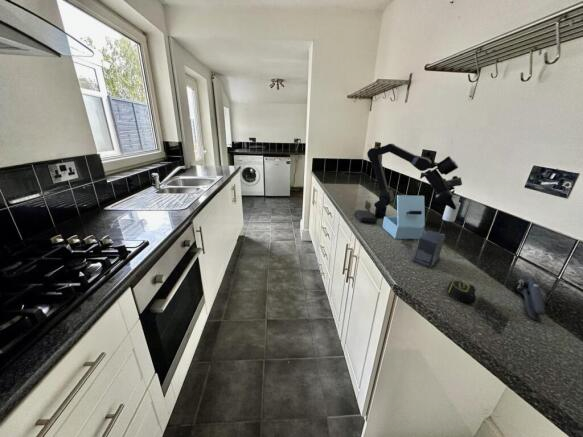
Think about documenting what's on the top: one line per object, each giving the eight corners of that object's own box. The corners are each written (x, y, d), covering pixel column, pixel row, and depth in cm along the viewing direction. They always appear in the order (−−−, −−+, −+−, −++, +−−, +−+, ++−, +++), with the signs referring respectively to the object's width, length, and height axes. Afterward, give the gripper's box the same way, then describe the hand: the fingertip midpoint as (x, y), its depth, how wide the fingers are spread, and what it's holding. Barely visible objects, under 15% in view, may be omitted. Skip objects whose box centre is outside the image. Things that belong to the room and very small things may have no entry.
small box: (421, 252, 95) (428, 229, 91) (439, 258, 91) (446, 234, 87) (412, 261, 88) (418, 236, 84) (430, 268, 84) (438, 243, 80)
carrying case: (379, 224, 122) (371, 214, 135) (380, 219, 121) (372, 209, 134) (359, 223, 122) (353, 213, 135) (360, 218, 121) (354, 209, 134)
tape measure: (472, 308, 66) (477, 297, 64) (445, 297, 70) (448, 287, 68) (473, 295, 71) (477, 285, 70) (447, 286, 75) (450, 276, 73)
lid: (397, 195, 105) (402, 194, 101) (423, 196, 106) (429, 194, 102) (397, 226, 104) (402, 226, 100) (423, 226, 105) (430, 226, 101)
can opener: (512, 285, 77) (519, 270, 75) (542, 294, 73) (550, 280, 70) (515, 315, 64) (524, 298, 62) (551, 328, 60) (561, 311, 58)
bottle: (440, 217, 115) (447, 194, 110) (449, 217, 115) (457, 194, 111) (446, 221, 110) (454, 197, 106) (457, 221, 110) (465, 197, 106)
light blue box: (382, 226, 119) (384, 216, 117) (405, 227, 120) (407, 216, 118) (395, 238, 106) (397, 227, 104) (420, 238, 107) (424, 227, 105)
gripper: (451, 173, 99) (474, 203, 97) (455, 168, 113) (475, 194, 111) (426, 187, 106) (446, 215, 104) (432, 181, 120) (451, 206, 118)
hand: (455, 207), depth 109 cm, fingers closed on bottle, 5 cm apart
